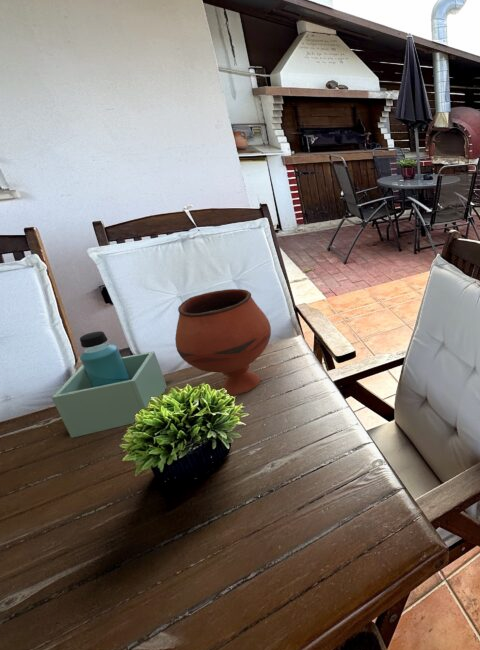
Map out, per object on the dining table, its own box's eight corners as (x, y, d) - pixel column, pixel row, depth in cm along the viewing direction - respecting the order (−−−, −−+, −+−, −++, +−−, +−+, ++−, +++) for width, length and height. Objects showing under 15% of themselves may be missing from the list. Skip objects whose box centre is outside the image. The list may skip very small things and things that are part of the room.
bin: (71, 438, 87) (51, 397, 83) (98, 401, 99) (82, 364, 95) (150, 419, 93) (134, 380, 89) (167, 386, 104) (154, 351, 100)
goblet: (183, 390, 103) (153, 302, 94) (263, 357, 117) (243, 278, 108) (211, 421, 92) (179, 326, 83) (294, 381, 106) (275, 296, 98)
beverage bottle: (136, 395, 100) (107, 324, 93) (144, 405, 96) (115, 332, 89) (100, 409, 95) (67, 335, 88) (107, 421, 91) (73, 345, 84)
